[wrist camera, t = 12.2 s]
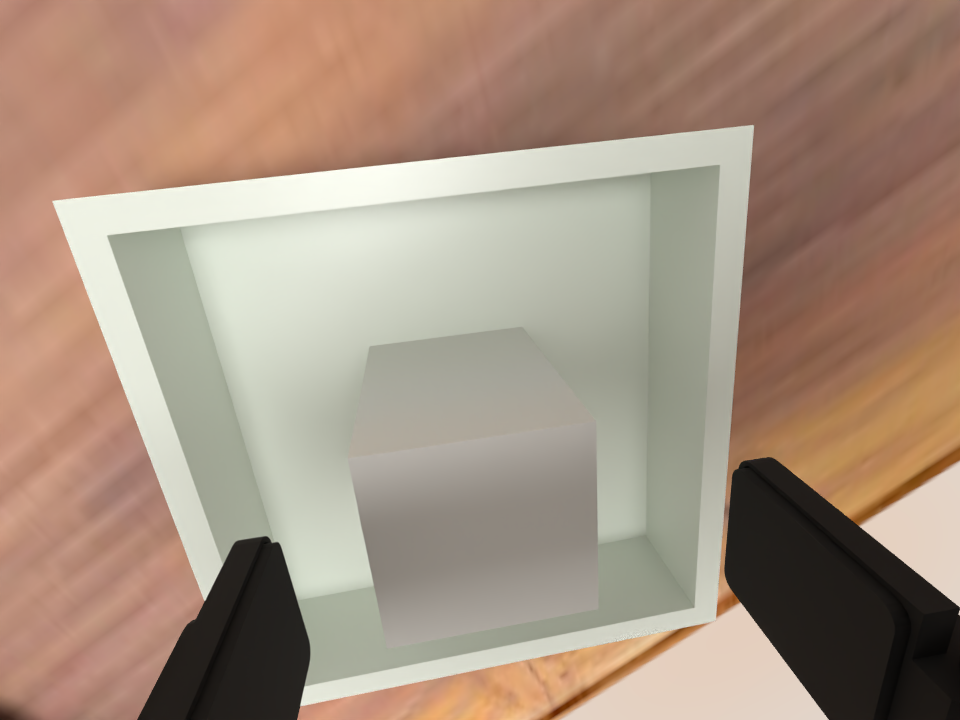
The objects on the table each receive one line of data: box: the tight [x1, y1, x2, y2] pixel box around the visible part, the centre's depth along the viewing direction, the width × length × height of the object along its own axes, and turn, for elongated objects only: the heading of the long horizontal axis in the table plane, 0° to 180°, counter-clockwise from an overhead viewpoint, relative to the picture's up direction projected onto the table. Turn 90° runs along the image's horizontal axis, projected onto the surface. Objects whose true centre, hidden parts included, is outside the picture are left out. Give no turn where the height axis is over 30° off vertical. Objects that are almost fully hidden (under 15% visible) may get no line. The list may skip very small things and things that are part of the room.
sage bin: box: [53, 125, 754, 706], centre depth 16 cm, size 16×16×4 cm
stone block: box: [347, 327, 599, 649], centre depth 14 cm, size 5×5×7 cm
